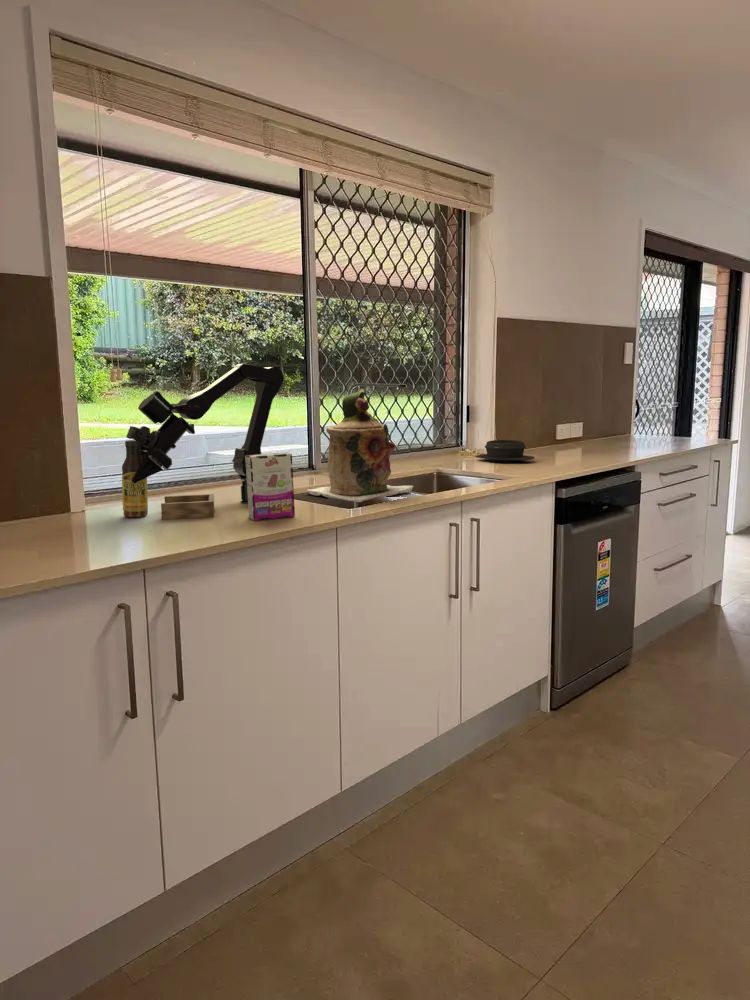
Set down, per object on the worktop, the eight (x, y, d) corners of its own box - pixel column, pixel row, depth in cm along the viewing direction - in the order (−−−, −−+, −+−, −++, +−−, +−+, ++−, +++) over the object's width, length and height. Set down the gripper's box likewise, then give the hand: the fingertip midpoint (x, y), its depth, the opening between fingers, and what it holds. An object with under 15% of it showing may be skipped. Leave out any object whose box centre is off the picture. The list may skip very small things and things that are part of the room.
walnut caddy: (214, 508, 195) (213, 493, 195) (214, 516, 183) (213, 501, 182) (165, 510, 193) (164, 496, 192) (162, 519, 180) (161, 504, 180)
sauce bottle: (122, 519, 181) (116, 442, 178) (124, 514, 187) (118, 440, 184) (149, 517, 183) (144, 441, 180) (150, 513, 189) (144, 439, 186)
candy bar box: (288, 513, 186) (286, 451, 183) (295, 517, 181) (293, 453, 178) (247, 518, 180) (244, 454, 178) (253, 521, 176) (250, 456, 173)
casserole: (467, 462, 294) (467, 442, 292) (487, 457, 309) (487, 438, 307) (523, 465, 280) (524, 444, 278) (541, 460, 295) (542, 440, 293)
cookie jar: (303, 495, 215) (299, 389, 210) (357, 485, 234) (355, 388, 228) (363, 503, 199) (361, 389, 194) (416, 492, 218) (415, 387, 212)
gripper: (133, 413, 190) (94, 457, 186) (156, 416, 175) (114, 463, 171) (164, 441, 196) (127, 484, 192) (188, 445, 181) (149, 492, 177)
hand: (128, 480), depth 183 cm, fingers open, 7 cm apart
